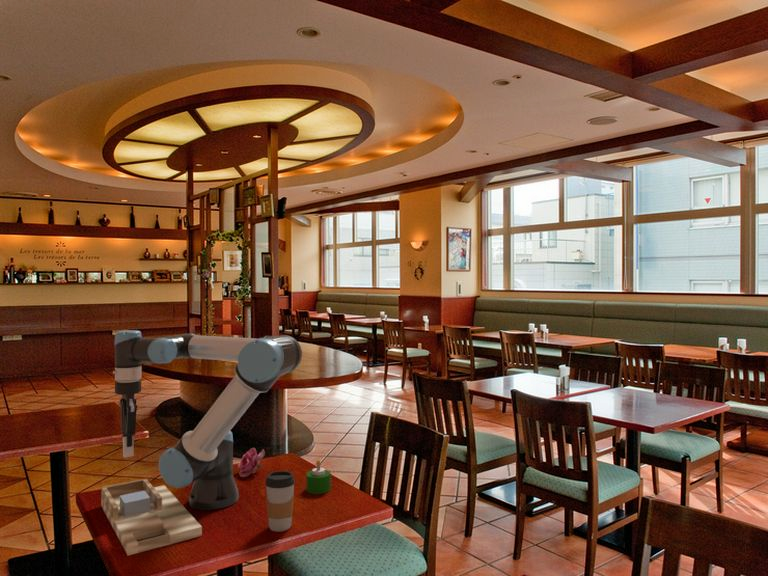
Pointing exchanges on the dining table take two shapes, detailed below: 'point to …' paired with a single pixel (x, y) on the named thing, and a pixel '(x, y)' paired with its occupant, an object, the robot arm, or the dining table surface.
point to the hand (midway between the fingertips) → (128, 455)
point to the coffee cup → (280, 499)
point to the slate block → (134, 503)
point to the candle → (318, 480)
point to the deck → (148, 517)
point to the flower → (250, 462)
